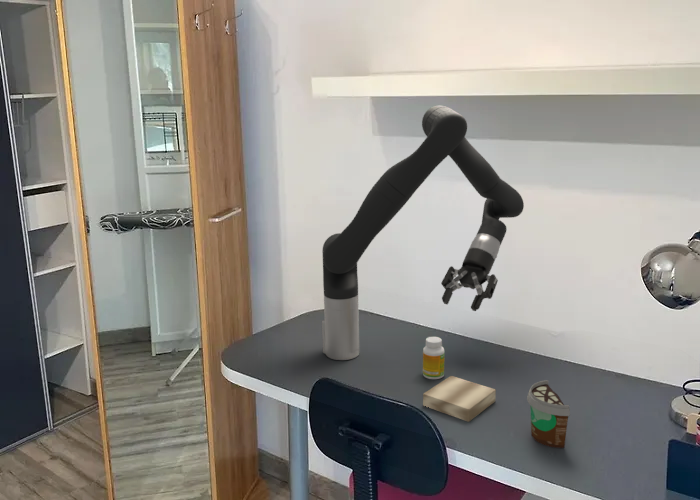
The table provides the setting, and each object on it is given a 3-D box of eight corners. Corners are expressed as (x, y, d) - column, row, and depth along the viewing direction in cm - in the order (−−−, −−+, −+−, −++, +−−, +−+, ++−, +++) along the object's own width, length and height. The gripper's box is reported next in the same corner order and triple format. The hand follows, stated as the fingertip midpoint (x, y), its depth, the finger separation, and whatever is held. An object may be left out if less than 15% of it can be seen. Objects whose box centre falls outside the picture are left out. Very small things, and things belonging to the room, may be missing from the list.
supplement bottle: (443, 380, 166) (444, 344, 164) (421, 379, 167) (422, 343, 165) (444, 371, 171) (445, 336, 169) (423, 370, 172) (424, 334, 170)
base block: (423, 405, 154) (423, 393, 153) (450, 387, 163) (451, 375, 162) (468, 421, 146) (469, 409, 146) (495, 401, 155) (495, 389, 154)
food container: (517, 422, 146) (519, 380, 143) (544, 421, 146) (547, 379, 143) (537, 453, 134) (540, 408, 131) (567, 451, 134) (570, 406, 132)
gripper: (454, 243, 181) (430, 294, 176) (501, 250, 172) (478, 304, 167) (463, 257, 187) (440, 307, 181) (510, 266, 178) (487, 318, 172)
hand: (458, 306), depth 174 cm, fingers open, 8 cm apart
